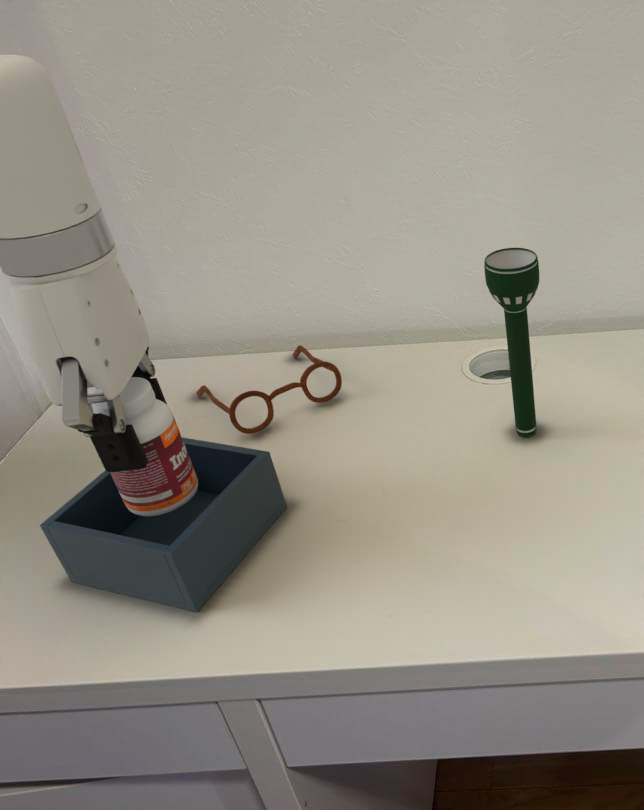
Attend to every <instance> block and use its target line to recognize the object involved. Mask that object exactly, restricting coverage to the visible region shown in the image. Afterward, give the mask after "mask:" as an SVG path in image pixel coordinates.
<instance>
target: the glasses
mask: <svg viewBox="0 0 644 810" xmlns="http://www.w3.org/2000/svg"><path fill="white" fill-rule="evenodd" d="M301 353H302V354H303V355H304V356H306V358H307V359H309V361H310V362H311V363H313V364H310V365H309V366H307V367H306V369H305V370H304V371H303V373H302V375H301V376H300V379H299V382H296V381H295V382H290V383H287V384H285V385H282V386H281V387H278V388H276V389H274V390H272V391H271V393H270V394H267V393H265V392H264V391H260V390H248V391H245V392H242V393H241V394H239V395H237V396H236V397H235V398H234V399H233V400H232V401H231V403H230V406H229V405H227V404H225V403H223V402H222V401H220V400H219V399H218V398H216V397H215V396H214V395H213V393H212V391H211V390H210V389H209V388H208V387H207V386H206V385H205V384H204V385H201V386H200V387H199V388H198V390H197V391H196V396H197V398H200V397H202V396H203V395H204V394H205V395H207V397H208V398H209V400H210V401H211V402H212V403H213V404H214V405H215V406H216V407H218V408H219V409H221V410H222V411H224V412H225V413H226V414H227V415H228V416H229V420H230V422H231V425H232V426H233V428H235V430H237V431H238V432H240V433H242V434H245V435H253V434H258V433H260V432H262V431H264V430H265V429H266V428H267V427H269V426H270V425H271V423H272V422H273V419H274V416H275V414H274V412H275V411H274V404H273V399H275V398H276V397H278V396H279V395H282V394H284V393H286V392H289V391H291V390H293V389H296V388H301V390H302V392H303V394H304V395H305V397H306V398H307V399H308V400H309V401H311V402H313V403H316V404H323V403H326V402H330V401H331V400H333V399H334V398H335V397H336V396H337V395H338V394H339V393H340V391H341V388H342V384H343V381H342V374H341V372H340V370H339V368H338V367H337V366H336V365H335V364H334V363H331V362H330V361H324V360H322V359H319V358H318V357H315V356H313V354H312V353H311V352H310V351H309V350H308V349H307V348H306V347H304V346H303V345H301V344H300V345H297V346H296V348H295V350H294V351H293V352H292V357H293V359H294V360H295V359H297V358H298V357H299V355H300V354H301ZM319 368H323V369H326V370H328V371H330V372H332V373H333V374H334V377H335V385H334V388H333V390H332V391H331V392H330V393H329V394H326V395H325V396H320V397H316V396H313V394H312V393H311V392H310V390H309V388H308V386H307V385H308V383H307V381H308V378H309V376H310V375H311V373H312V372H314V371H315V370H318V369H319ZM251 397H258V398H261V399H263V400H264V402H265V404H266V407H267V408H266V409H267V415H266V418H265V420H264V421H263V422H262V423H260V424H259V425H257V426H253V427H244V426H242V425H241V423H239V422H238V419H237V416H236V411H237V407H238V405H239V404H240V403H241V402H242V401H244V400H245V399H247V398H251Z"/></svg>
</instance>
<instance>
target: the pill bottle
mask: <svg viewBox="0 0 644 810" xmlns="http://www.w3.org/2000/svg"><path fill="white" fill-rule="evenodd" d="M97 393H103V391H102V389H96V388H95V390H94V391H93V392H92V393H91V394H97ZM119 395H120V399H121V404H122V409H123V413H124V418H125V423H126V425H130V424H132V426H133V428H134V430H135V432H136V435H137V437H138V439H139V442H140V444H141V446H142V449H143V451H144V453H145V456H146V458H147V460H148V463H147V465H146V467H145V468H143V469H135V470H127V471H119V472H110V474H111V476H112V478H113V480H114V482H115V484H116V487H117V489H118V491H119V493H120V495H121V497H122V500H123V502H124V504H125V505H126V507H127V508H128V509H129V510H130V511H131V512H132V513H134V514H137V515H140V516H157V515H162V514H165V513H168V512H171V511H173V510H175V509H177V508H179V507H181V506H182V505H184V504H185V503H187V502H188V501H189V500H190V499H191V498H192V497H193V496H194V494H195V493H196V491H197V488H198V479H197V476H196V473H195V470H194V468H193V465H192V463H191V460H190V458H189V455H188V452H187V450H186V447H185V445H184V442H183V440H182V437H183V436H182V435H181V432H180V429H179V427H178V424H177V422H176V418H175V416H174V414H173V412H172V410H171V408H170V406H169V405H168V404H167V405H166V404H165V403H164V402H162V401H160V400H158V399H156V397H155V393H154V391H153V389H152V387H151V384H150V383H149V381H148V380H146V379H144V378H140V377H131V378H130V380H129V381H128V383H127V384H126V386H125V388H124V389H123V390H122V392H121V393H120V394H119ZM92 408H93V412H94V413H95V414H97V413H102V414H104V415H107V416H110V414H109V410H108V405H107V402H101V403H92Z"/></svg>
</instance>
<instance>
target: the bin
mask: <svg viewBox="0 0 644 810" xmlns="http://www.w3.org/2000/svg"><path fill="white" fill-rule="evenodd" d="M181 437H182V440H183V442H184V445H185V447H186V450H187V452H188V455H189V458H190V460H191V463H192V465H193V468H194V470H195V473H196V476H197V479H198V488H197V491H196V493H195V494H194V496H193V497H192V498H191V499H190V500H189V501H188V502H187V503H185V504H184V505H182V506H181V507H179V508H177V509H175V510H173V511H171V512H168V513H165V514H162V515H157V516H140V515H137V514H134V513H132V512H131V511H130V510H129V509H128V508H127V507H126V505H125V504H124V502H123V500H122V497H121V495H120V493H119V491H118V489H117V487H116V484H115V482H114V480H113V478H112V476H111V474H110V472H108V471H106V470H105V469H104V470H103V472H101V473H100V474H99V475H98V476H96V477H95V478H94V479H93V480H92V481H91V482H90V483H89V484H87V485H86V486H85V487H83V488H82V489H81V490H80V491H79V492H78V493H77V494H75V495H73V497H72V498H70V499H69V500H68V501H67V502H66V503H65V504H63V505H62V506H61V507H60V508H59V509H57V510H56V511H55V512H54V513H53V514H52V515H50V516H49V517H47V519H45V520H44V521H43V522H42V523H41V524H39V527H40V529H41V530H42V532H43V535H44V536H45V537H46V539H47V541H48V543H49V545H50V546H51V548H52V550H53V552H54V553H55V556H56V557H57V559H58V561H59V563H60V565H61V566H62V568H63V570H64V572H65V573H66V575H67V577H68V579H69V581H70V582H71V583H74V584H78V585H83V586H87V587H91V588H95V589H99V590H102V591H107V592H112V593H116V594H120V595H124V596H128V597H132V598H136V599H140V600H145V601H149V602H153V603H157V604H162V605H165V606H169V607H174V608H178V609H182V610H185V611H190V612H194V613H198V612H199V611H201V609H202V608H203V606H204V605H205V604H206V603H207V602H208V601H209V599H210V598H212V596H213V595H214V594H215V592H216V591H217V590H218V589H219V588H220V586H221V585H222V584H223V583H224V582H225V580H226V579H227V578H228V577H229V576H230V575H231V574H232V572H233V571H234V570H235V569H236V568H237V567H238V565H239V564H240V563H241V562H242V561H243V560H244V558H246V556H247V555H248V554H249V552H250V551H251V550H252V549H253V548H254V546H256V544H257V543H258V542H259V540H260V539H261V538H262V537H263V536H264V535H265V534H266V532H267V531H268V530H269V529H270V528H271V527H272V526H273V525H274V523H276V521H277V519H279V517H280V516H281V515H282V514H283V512H285V511H286V510H287V508H288V506H287V502H286V499H285V496H284V493H283V489H282V486H281V484H280V480H279V478H278V474H277V471H276V468H275V465H274V462H273V458H272V455H271V452H270V451H268V450H261V449H257V448H256V449H254V448H249V447H244V446H236V445H232V444H231V445H230V444H224V443H219V442H213V441H206V440H200V439H195V438H189V437H188V438H187V437H183V436H181Z"/></svg>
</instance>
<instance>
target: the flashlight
mask: <svg viewBox="0 0 644 810" xmlns="http://www.w3.org/2000/svg"><path fill="white" fill-rule="evenodd" d="M483 268H484V279H485V284H486V287H487V289H488V291H489V294H490V295H491V297H492V298H493V300H494V301H495V302H496V303H497V304H499V306H500V307H501V308H502V309H503V313H504V323H505V324H504V325H505V334H506V343H507V344H506V345H507V354H508V364H509V365H508V366H509V375H510V384H511V393H512V394H511V396H512V406H513V413H514V424H515V425H514V426H515V431H516V433H517V435H518V436H519V437H521V438H524V439H525V438H526V439H527V438H532V437H534V435H535V434H536V432H537V428H538V427H537V417H536V404H535V391H534V379H533V366H532V353H531V342H530V329H529V317H528V306H529V304H530V303H531V301H532V300H533V299H534V297H535V296H536V294H537V291H538V290H539V289H538V288H539V284H540V264H539V258H538V255H537V253H536V252H534V251H533V250H531V249H528V248H524V247H506V248H501V249H498V250H495V251H492V252H490V253H489V254H487V255H486V256H485V258H484V266H483Z"/></svg>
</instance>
